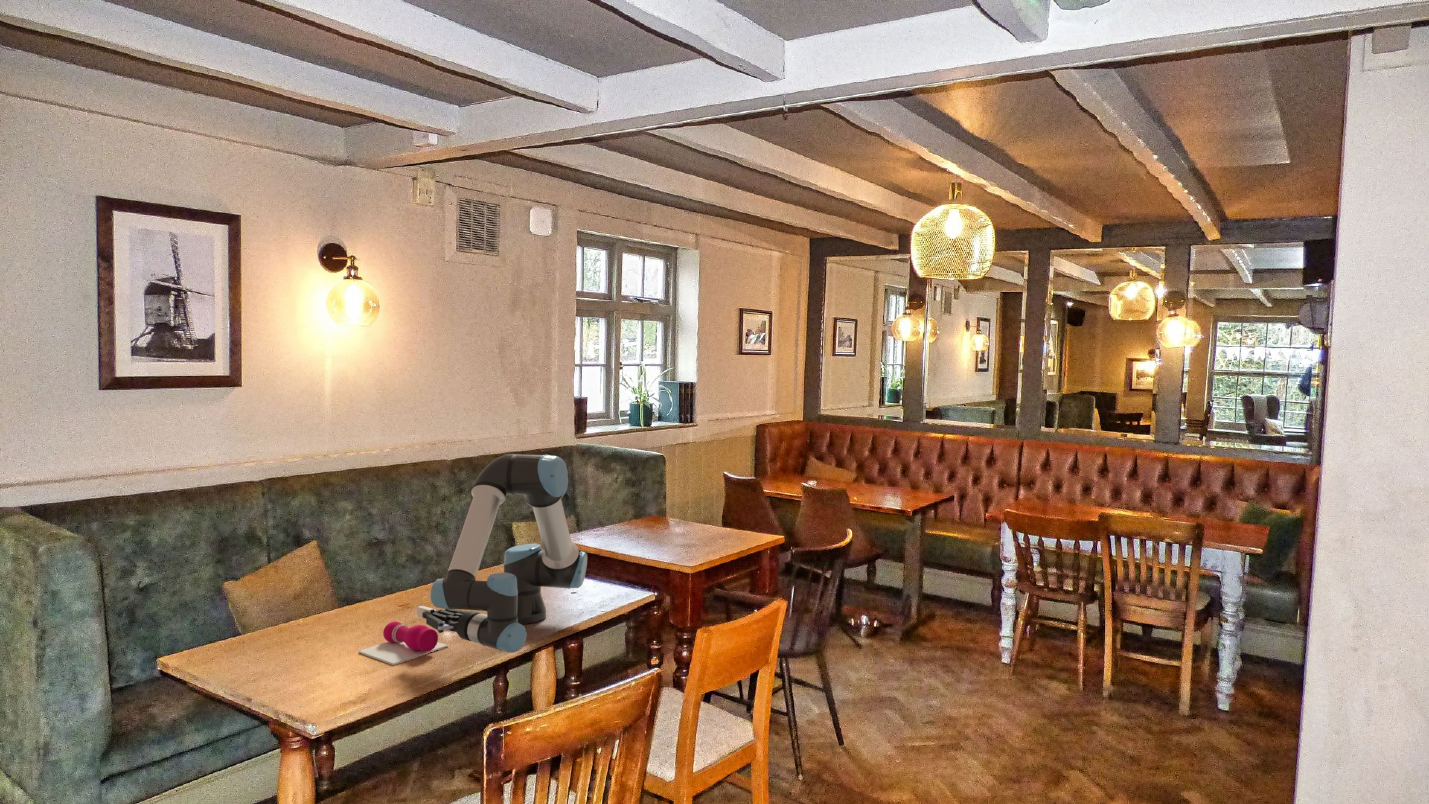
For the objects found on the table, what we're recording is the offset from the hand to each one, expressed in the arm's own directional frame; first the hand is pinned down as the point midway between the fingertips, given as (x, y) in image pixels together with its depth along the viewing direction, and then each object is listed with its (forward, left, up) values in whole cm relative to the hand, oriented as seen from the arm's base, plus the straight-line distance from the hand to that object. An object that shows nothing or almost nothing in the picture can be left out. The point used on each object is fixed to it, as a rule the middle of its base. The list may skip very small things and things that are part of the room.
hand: (419, 611), depth 239 cm
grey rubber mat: (+6, -5, -13) cm, 15 cm away
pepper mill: (-3, 0, -8) cm, 9 cm away
